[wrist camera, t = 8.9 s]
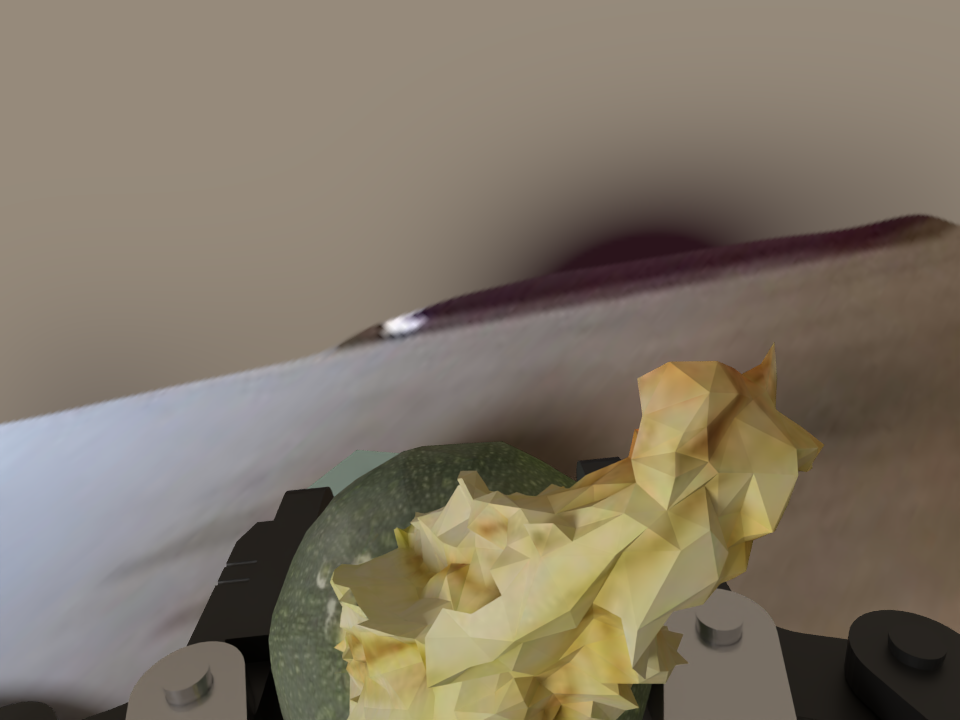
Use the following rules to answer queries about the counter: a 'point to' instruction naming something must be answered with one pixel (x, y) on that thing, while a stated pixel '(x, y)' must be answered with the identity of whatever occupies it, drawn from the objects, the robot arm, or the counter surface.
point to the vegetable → (534, 564)
